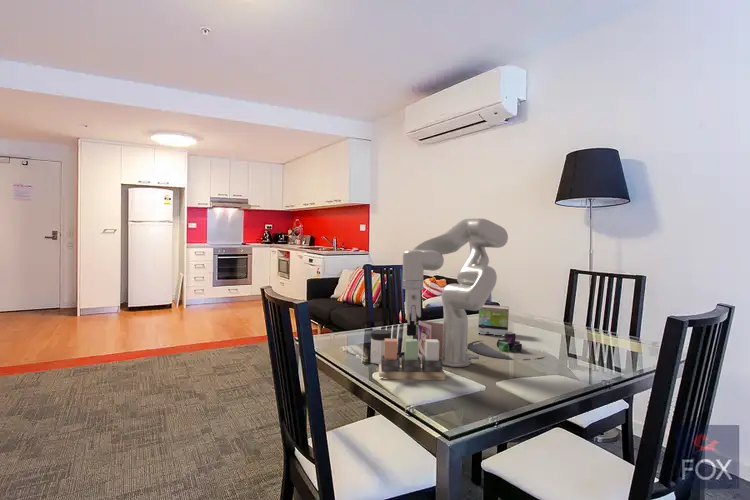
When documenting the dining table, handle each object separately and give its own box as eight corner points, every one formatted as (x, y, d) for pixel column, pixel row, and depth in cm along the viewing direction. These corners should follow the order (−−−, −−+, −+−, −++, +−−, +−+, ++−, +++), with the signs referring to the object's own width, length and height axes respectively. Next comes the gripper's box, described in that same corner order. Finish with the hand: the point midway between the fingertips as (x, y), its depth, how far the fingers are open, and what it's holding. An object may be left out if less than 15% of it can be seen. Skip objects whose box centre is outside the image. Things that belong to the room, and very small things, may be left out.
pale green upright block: (416, 358, 157) (416, 339, 157) (417, 361, 153) (418, 341, 152) (404, 357, 157) (405, 338, 157) (405, 361, 152) (405, 341, 152)
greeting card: (416, 355, 181) (416, 320, 181) (431, 354, 184) (432, 319, 183) (428, 363, 170) (429, 325, 170) (444, 361, 173) (445, 324, 172)
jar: (365, 362, 169) (366, 332, 169) (375, 357, 176) (376, 328, 176) (385, 365, 165) (386, 335, 165) (395, 360, 172) (395, 331, 172)
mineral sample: (555, 363, 174) (555, 340, 174) (467, 356, 181) (467, 334, 181) (539, 348, 208) (540, 329, 208) (466, 342, 215) (466, 324, 215)
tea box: (477, 334, 224) (478, 306, 223) (479, 330, 233) (479, 303, 233) (507, 337, 219) (508, 308, 219) (507, 333, 229) (508, 305, 228)
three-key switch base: (440, 370, 160) (440, 354, 160) (445, 380, 149) (445, 363, 149) (378, 369, 160) (379, 353, 160) (379, 379, 149) (379, 361, 149)
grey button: (436, 358, 157) (437, 339, 157) (438, 361, 153) (439, 342, 152) (424, 358, 157) (425, 339, 157) (426, 361, 153) (426, 342, 152)
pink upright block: (396, 357, 157) (396, 338, 157) (396, 361, 152) (397, 341, 152) (384, 357, 157) (384, 338, 157) (384, 360, 152) (384, 341, 152)
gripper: (425, 287, 147) (424, 340, 147) (420, 282, 162) (419, 331, 162) (403, 286, 147) (402, 339, 147) (400, 282, 161) (399, 330, 162)
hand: (411, 335), depth 154 cm, fingers closed
